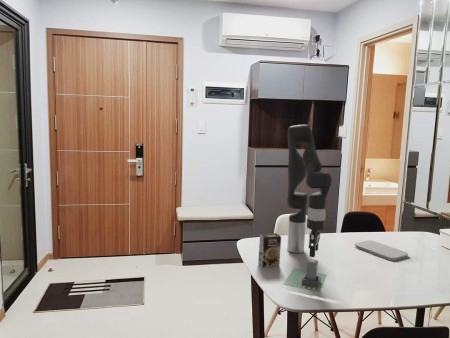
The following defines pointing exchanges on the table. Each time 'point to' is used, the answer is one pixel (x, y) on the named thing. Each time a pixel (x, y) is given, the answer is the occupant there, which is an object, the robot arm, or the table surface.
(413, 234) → the table surface
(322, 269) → the table surface
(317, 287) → the board
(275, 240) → the coffee box
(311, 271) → the plug
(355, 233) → the table surface
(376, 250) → the tablet
